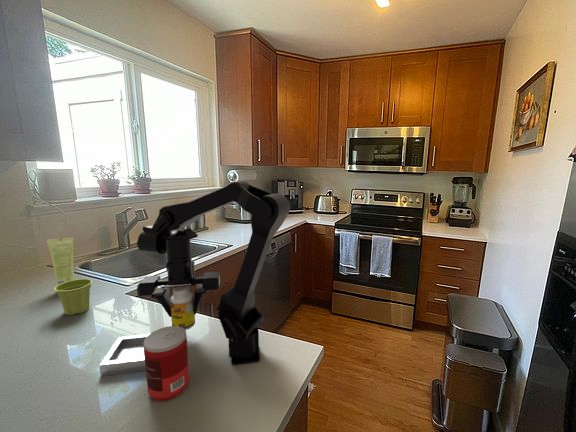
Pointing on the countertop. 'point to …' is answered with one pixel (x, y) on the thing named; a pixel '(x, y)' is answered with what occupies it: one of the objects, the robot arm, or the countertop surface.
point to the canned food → (166, 362)
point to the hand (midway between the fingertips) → (183, 314)
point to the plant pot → (74, 295)
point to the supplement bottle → (182, 307)
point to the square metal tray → (125, 356)
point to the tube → (62, 259)
